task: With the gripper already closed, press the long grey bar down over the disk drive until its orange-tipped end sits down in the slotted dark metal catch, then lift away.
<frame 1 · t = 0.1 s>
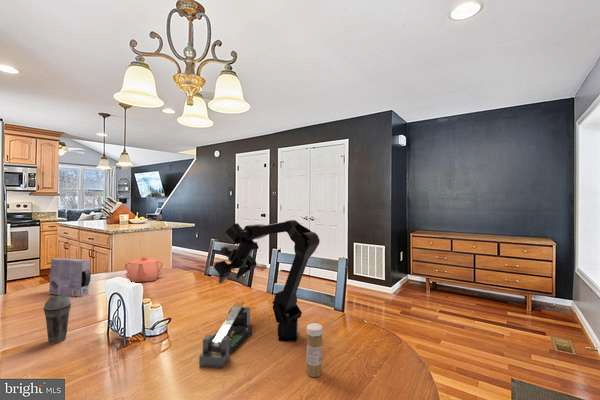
hand: (228, 280, 120), 15 cm above the table, tool tilted 35°, fingers open, 9 cm apart
long grey bar: (229, 321, 99), point 7 cm above the table, hinge at 10.0°
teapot: (143, 281, 167), on the table
beverage cup: (57, 341, 98), on the table
disk drive: (229, 342, 99), on the table
bracket: (216, 360, 87), on the table
sprinkles bottle: (313, 373, 82), on the table
cake pan box: (70, 295, 143), on the table
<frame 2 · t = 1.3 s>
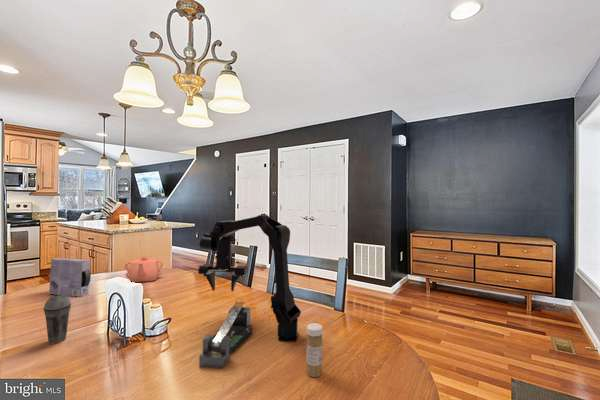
hand: (223, 290, 115), 12 cm above the table, tool pointing down, fingers open, 7 cm apart
nothing on the table moved.
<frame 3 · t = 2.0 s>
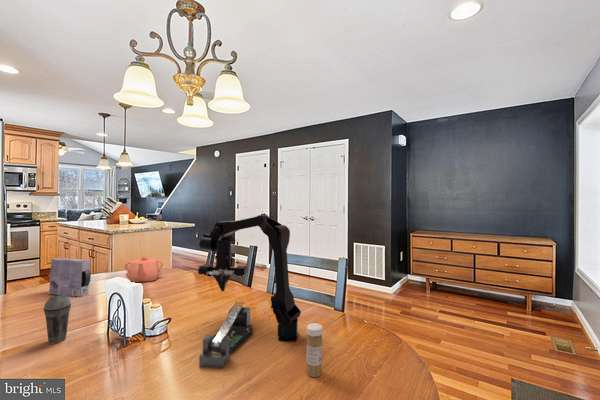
hand: (223, 291, 115), 12 cm above the table, tool pointing down, fingers closed
nothing on the table moved.
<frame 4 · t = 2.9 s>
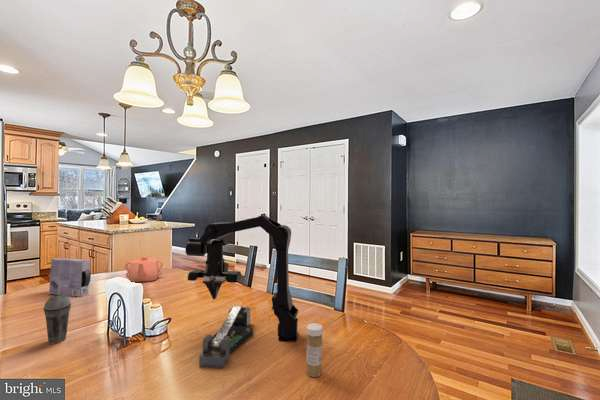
hand: (214, 298, 106), 12 cm above the table, tool pointing down, fingers closed
nothing on the table moved.
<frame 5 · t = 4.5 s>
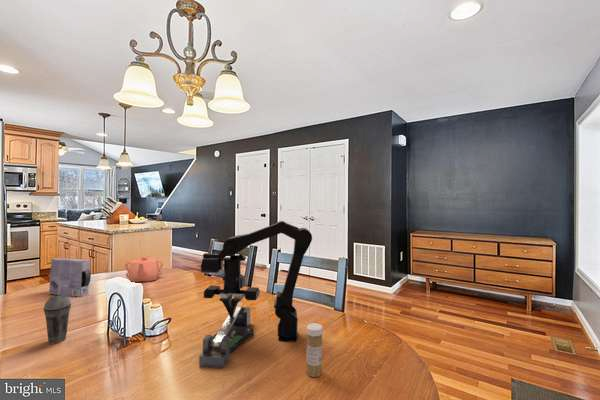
hand: (231, 316, 101), 7 cm above the table, tool pointing down, fingers closed, pressing on long grey bar
long grey bar: (229, 322, 99), point 7 cm above the table, hinge at 9.4°, touching gripper
everything else where it was.
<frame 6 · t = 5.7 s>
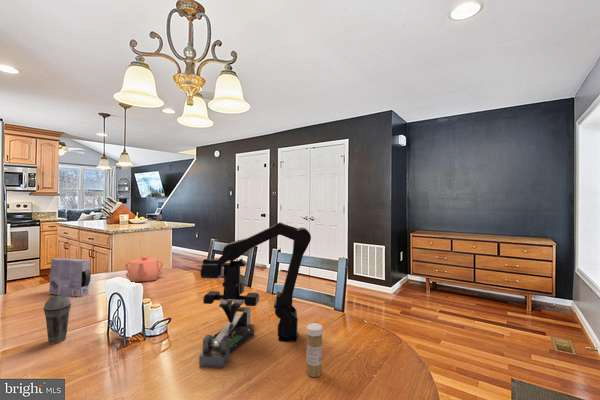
hand: (231, 322, 101), 5 cm above the table, tool pointing down, fingers closed
long grey bar: (229, 327, 99), point 5 cm above the table, hinge at 0.4°
everything else where it was.
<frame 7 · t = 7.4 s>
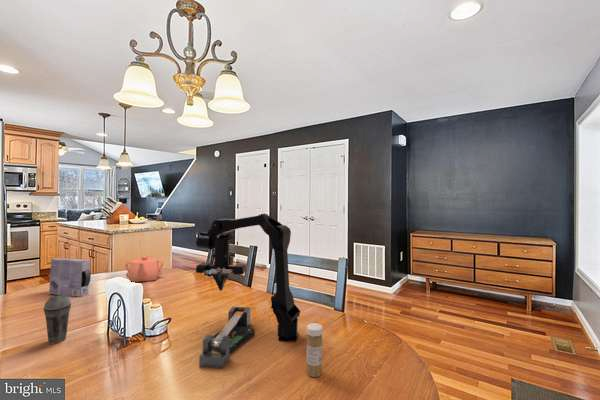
hand: (221, 290, 113), 13 cm above the table, tool pointing down, fingers closed
nothing on the table moved.
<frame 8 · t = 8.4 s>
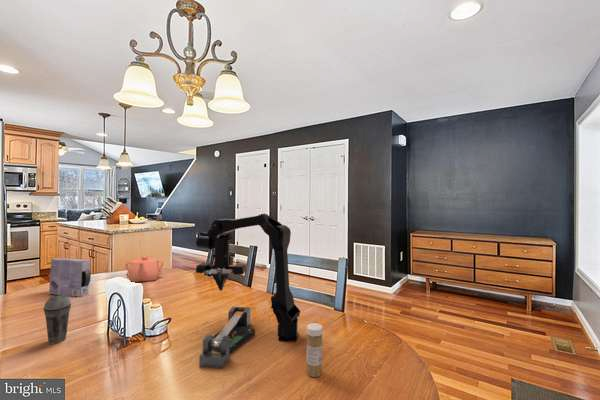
hand: (221, 290, 113), 13 cm above the table, tool pointing down, fingers closed
nothing on the table moved.
at the end: long grey bar at +0° (first picture: +10°); disk drive moved 0.9 cm from its start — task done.
